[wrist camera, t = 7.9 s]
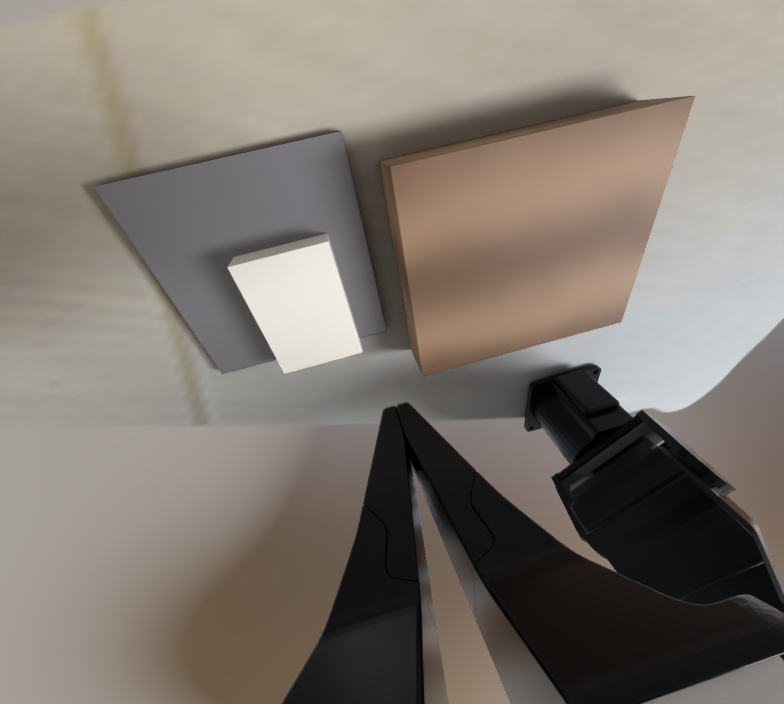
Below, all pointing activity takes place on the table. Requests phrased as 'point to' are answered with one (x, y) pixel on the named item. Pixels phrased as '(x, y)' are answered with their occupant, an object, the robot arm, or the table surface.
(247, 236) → the mat
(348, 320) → the white rectangular block
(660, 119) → the serving board
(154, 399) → the table surface
